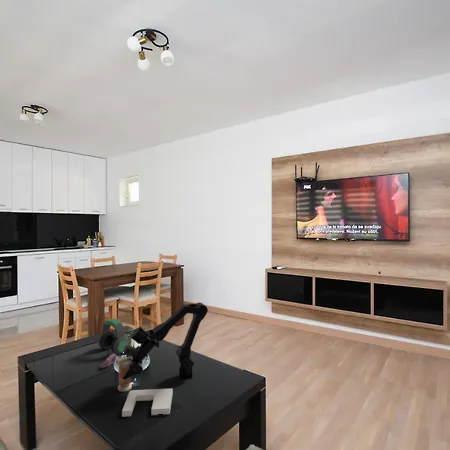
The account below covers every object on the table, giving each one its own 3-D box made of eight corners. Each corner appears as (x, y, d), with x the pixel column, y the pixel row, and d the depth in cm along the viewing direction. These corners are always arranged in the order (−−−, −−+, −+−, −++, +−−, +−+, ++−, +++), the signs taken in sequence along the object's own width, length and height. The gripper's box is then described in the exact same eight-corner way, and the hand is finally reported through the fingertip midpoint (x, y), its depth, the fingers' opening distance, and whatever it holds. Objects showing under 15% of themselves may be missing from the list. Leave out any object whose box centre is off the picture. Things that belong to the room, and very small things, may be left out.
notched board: (172, 393, 154) (172, 388, 154) (169, 414, 138) (169, 408, 138) (130, 395, 152) (130, 390, 152) (122, 416, 136) (122, 410, 136)
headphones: (96, 350, 203) (96, 319, 203) (111, 344, 212) (111, 315, 212) (115, 358, 192) (115, 325, 192) (130, 351, 201) (130, 320, 201)
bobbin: (133, 384, 163) (132, 357, 162) (130, 391, 156) (129, 363, 156) (119, 384, 162) (119, 357, 162) (116, 392, 155) (116, 363, 155)
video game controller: (105, 371, 179) (110, 361, 178) (99, 367, 180) (103, 357, 179) (115, 363, 189) (119, 353, 188) (108, 359, 189) (113, 349, 189)
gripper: (130, 333, 169) (108, 357, 164) (135, 346, 151) (111, 374, 147) (146, 345, 172) (124, 369, 168) (152, 360, 155) (129, 387, 151)
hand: (122, 374), depth 158 cm, fingers open, 9 cm apart
